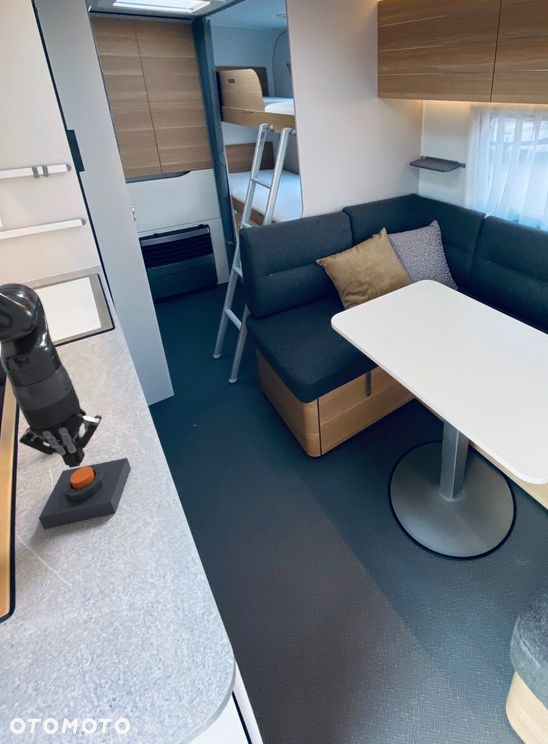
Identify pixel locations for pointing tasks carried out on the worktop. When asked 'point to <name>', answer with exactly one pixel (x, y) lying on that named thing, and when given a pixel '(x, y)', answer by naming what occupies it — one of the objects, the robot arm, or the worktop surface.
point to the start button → (82, 477)
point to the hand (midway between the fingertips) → (77, 463)
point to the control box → (86, 495)
